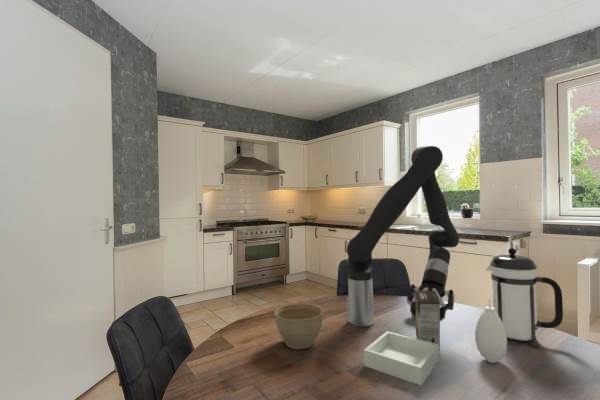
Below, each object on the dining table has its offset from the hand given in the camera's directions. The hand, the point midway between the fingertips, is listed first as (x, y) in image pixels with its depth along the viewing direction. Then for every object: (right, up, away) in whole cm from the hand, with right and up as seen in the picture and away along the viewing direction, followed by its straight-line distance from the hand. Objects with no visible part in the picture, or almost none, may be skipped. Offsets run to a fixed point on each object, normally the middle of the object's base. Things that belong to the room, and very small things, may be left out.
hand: (426, 316), depth 101 cm
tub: (-11, -9, -11) cm, 18 cm away
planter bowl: (-41, -10, +3) cm, 43 cm away
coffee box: (0, -9, 0) cm, 9 cm away
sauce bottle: (+14, -9, -11) cm, 20 cm away
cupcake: (+7, -9, +24) cm, 26 cm away
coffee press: (+32, -8, +2) cm, 33 cm away
